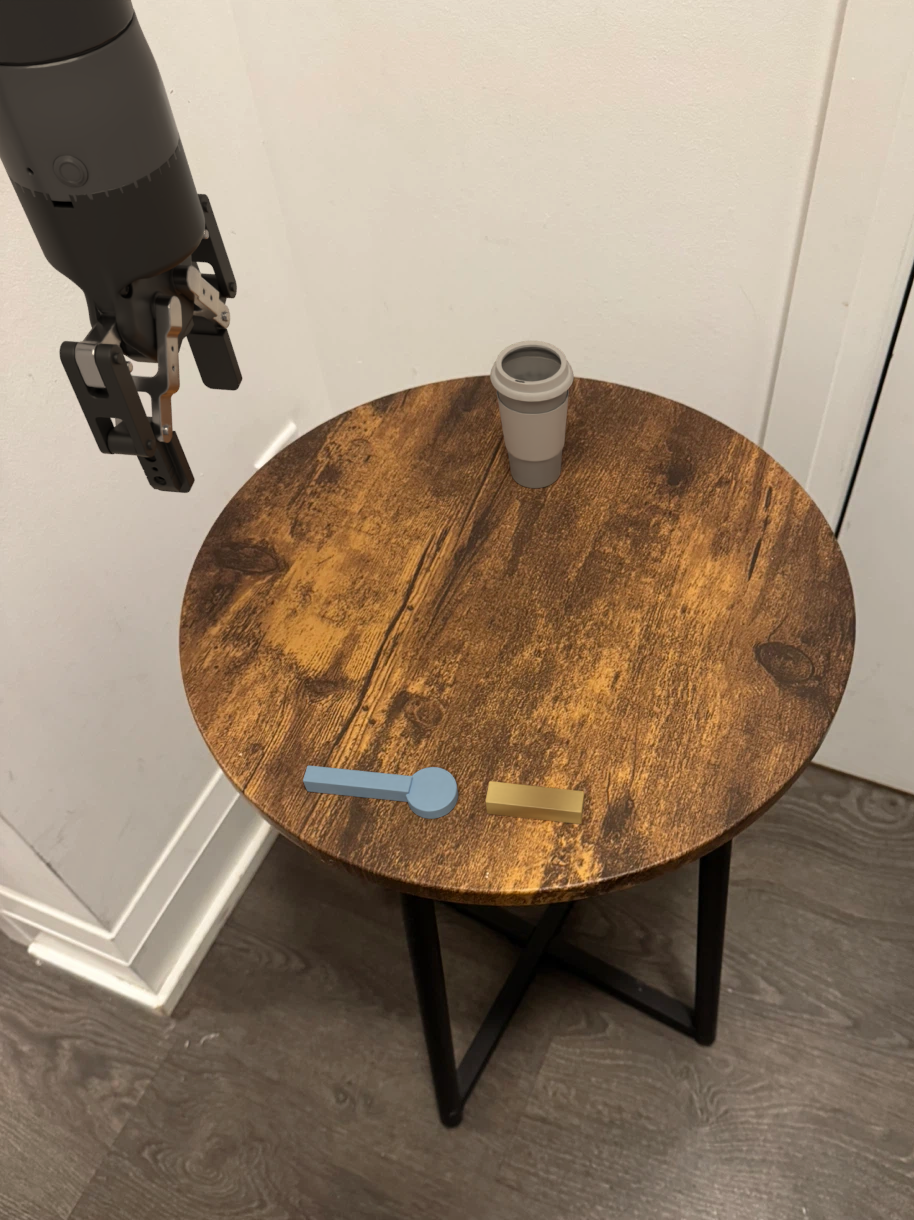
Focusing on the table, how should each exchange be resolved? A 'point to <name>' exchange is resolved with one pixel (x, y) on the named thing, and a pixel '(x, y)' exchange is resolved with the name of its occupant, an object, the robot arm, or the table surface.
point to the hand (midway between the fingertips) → (201, 435)
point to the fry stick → (535, 802)
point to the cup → (533, 409)
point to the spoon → (390, 787)
